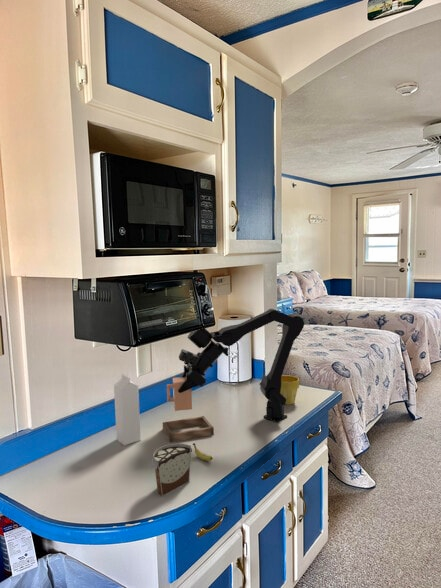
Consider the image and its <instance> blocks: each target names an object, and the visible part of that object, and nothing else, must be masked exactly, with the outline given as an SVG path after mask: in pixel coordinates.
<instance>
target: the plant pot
mask: <svg viewBox="0 0 441 588" xmlns="http://www.w3.org/2000/svg"><path fill="white" fill-rule="evenodd" d="M299 388H300V379H299V377H298V376H294V375H286V374H285V375H284V374H282V377H281V392H280V393H281V394H282V395H283V396H284V397H285V398H286V403H285V405H284V406H286V405H289V406H290V405H293V404H295V403H296V402H295V401H296V397H297V392H298V389H299Z"/></svg>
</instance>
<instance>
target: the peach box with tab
mask: <svg viewBox="0 0 441 588" xmlns="http://www.w3.org/2000/svg"><path fill="white" fill-rule="evenodd" d="M185 380H186V377H181V376H179V377H172V383H171V384H170V383H169V384H166V395H167V396H166V400H167V403H172V402H173V407H174V408H173V409H174V412H176V411H187V410H193V400H192V399H193V396H192V395H193V393H192V388H191V389H189V390H186V391H184V392H182V393H179V392H178V390H179V388H180V387H181V385H182V384H183V382H184V381H185ZM171 389H172V392H173V393H172V394H173V395H172V397H171Z"/></svg>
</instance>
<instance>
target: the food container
mask: <svg viewBox="0 0 441 588" xmlns="http://www.w3.org/2000/svg"><path fill="white" fill-rule="evenodd" d="M192 453H193V448H192V445H190V444H188V443H187V444H185V443H170V444H166V445H162V446H160V447H158V448H157V449H156V450H154V452H153V455H152V458H151V466H152V467H153V468H154V473H155V481H156V489H157V493H158V495H159V496H160V497H161V498H163V497H165V496H166V495H169V494H170V493H172V492H174V491H176V490H177V489H180V488H181V487H183V486H185V485H187V484H189V483H190V479H191V478H190V476H191V456H192V455H191V454H192Z"/></svg>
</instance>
